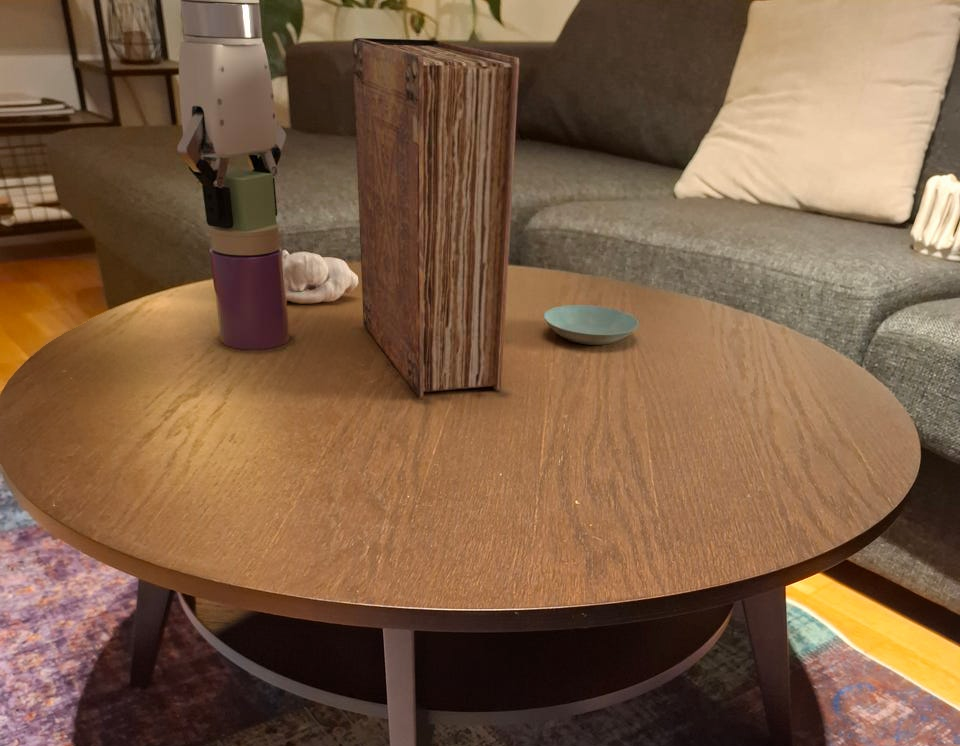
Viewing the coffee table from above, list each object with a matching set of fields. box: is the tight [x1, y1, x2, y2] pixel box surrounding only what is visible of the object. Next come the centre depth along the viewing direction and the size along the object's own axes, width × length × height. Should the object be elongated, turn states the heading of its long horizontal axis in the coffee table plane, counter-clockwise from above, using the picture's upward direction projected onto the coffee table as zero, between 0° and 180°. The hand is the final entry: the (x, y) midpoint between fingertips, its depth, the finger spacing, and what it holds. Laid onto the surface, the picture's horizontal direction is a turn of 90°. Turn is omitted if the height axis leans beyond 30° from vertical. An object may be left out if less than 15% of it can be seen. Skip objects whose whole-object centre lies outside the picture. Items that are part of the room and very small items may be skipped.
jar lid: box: [208, 222, 281, 256], centre depth 100 cm, size 8×8×2 cm
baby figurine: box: [282, 249, 359, 305], centre depth 119 cm, size 9×12×8 cm
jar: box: [208, 246, 291, 351], centre depth 103 cm, size 8×8×12 cm
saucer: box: [542, 304, 640, 346], centre depth 112 cm, size 12×12×2 cm
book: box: [351, 37, 520, 400], centre depth 95 cm, size 25×9×30 cm, turn 19°
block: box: [224, 168, 277, 231], centre depth 98 cm, size 5×5×5 cm
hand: (243, 219), depth 99 cm, fingers open, 6 cm apart
